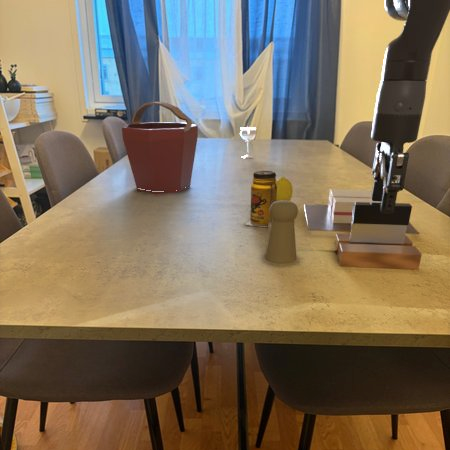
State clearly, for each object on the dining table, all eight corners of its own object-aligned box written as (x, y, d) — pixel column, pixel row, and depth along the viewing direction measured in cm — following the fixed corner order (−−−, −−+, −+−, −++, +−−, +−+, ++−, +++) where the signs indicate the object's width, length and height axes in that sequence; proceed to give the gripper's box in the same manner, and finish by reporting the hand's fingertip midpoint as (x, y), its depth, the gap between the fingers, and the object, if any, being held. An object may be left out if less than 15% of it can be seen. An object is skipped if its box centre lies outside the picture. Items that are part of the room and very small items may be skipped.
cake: (375, 209, 111) (378, 190, 108) (381, 217, 105) (384, 197, 102) (327, 208, 112) (329, 189, 110) (330, 216, 106) (332, 195, 104)
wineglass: (243, 158, 187) (244, 129, 181) (237, 156, 192) (237, 127, 187) (257, 157, 189) (258, 128, 184) (251, 155, 195) (252, 127, 189)
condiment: (244, 225, 103) (245, 173, 97) (256, 215, 110) (258, 167, 104) (273, 229, 100) (275, 176, 95) (284, 219, 107) (287, 169, 101)
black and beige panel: (398, 256, 84) (409, 203, 80) (401, 260, 83) (412, 206, 78) (346, 254, 85) (354, 201, 81) (348, 258, 84) (355, 204, 79)
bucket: (210, 191, 133) (209, 102, 122) (143, 201, 123) (135, 105, 112) (176, 177, 152) (172, 99, 141) (115, 184, 142) (105, 101, 130)
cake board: (395, 210, 114) (396, 207, 113) (419, 238, 94) (419, 233, 94) (303, 208, 116) (303, 204, 116) (307, 234, 97) (308, 229, 96)
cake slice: (382, 219, 103) (385, 198, 101) (386, 224, 100) (389, 203, 97) (330, 218, 104) (333, 197, 102) (332, 223, 101) (335, 201, 99)
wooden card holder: (404, 249, 88) (407, 235, 87) (418, 269, 79) (421, 254, 77) (334, 247, 89) (335, 233, 88) (340, 266, 80) (342, 251, 79)
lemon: (295, 207, 117) (297, 177, 113) (280, 210, 114) (281, 179, 111) (282, 202, 121) (284, 173, 117) (266, 205, 118) (268, 176, 115)
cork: (274, 265, 81) (278, 207, 76) (259, 254, 86) (261, 199, 81) (302, 260, 83) (307, 203, 78) (286, 250, 88) (289, 196, 83)
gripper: (434, 114, 65) (413, 218, 73) (410, 108, 78) (393, 198, 85) (383, 113, 66) (367, 216, 73) (367, 108, 79) (355, 196, 86)
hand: (381, 206), depth 79 cm, fingers open, 8 cm apart
